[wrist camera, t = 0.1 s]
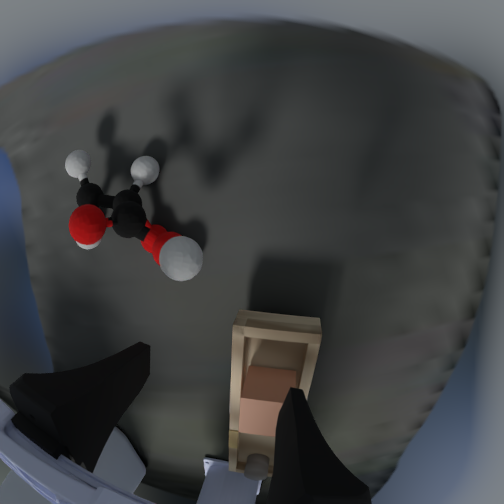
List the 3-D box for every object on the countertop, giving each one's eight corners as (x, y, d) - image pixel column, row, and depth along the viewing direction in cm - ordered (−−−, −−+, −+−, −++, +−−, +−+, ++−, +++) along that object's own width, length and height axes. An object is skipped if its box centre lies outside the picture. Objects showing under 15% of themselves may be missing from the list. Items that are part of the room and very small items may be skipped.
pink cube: (288, 405, 21) (286, 438, 17) (246, 400, 21) (238, 432, 18) (296, 370, 20) (295, 403, 16) (249, 365, 20) (240, 397, 17)
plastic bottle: (155, 474, 34) (97, 592, 7) (89, 451, 36) (25, 543, 9) (122, 420, 30) (26, 564, 3) (53, 396, 32) (-38, 495, 6)
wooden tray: (289, 452, 27) (286, 486, 22) (231, 445, 28) (221, 477, 23) (324, 309, 22) (331, 344, 17) (236, 299, 22) (221, 332, 17)
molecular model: (126, 229, 27) (36, 244, 19) (136, 150, 24) (39, 148, 16) (247, 300, 20) (125, 361, 11) (276, 185, 17) (131, 180, 9)
